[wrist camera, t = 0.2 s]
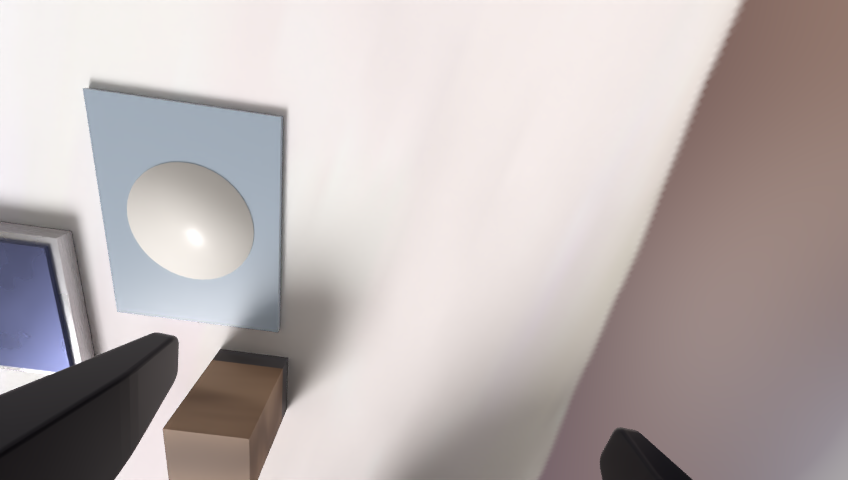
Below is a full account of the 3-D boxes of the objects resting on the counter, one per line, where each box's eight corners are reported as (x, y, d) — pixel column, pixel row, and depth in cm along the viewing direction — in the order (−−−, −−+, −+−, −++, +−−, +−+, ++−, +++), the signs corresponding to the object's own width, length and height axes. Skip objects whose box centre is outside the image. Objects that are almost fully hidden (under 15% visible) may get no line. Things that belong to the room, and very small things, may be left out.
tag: (279, 329, 25) (277, 332, 25) (120, 309, 25) (116, 312, 25) (282, 116, 21) (280, 117, 20) (87, 87, 20) (82, 88, 20)
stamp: (286, 408, 28) (250, 497, 22) (222, 401, 27) (169, 488, 22) (288, 357, 26) (249, 439, 21) (220, 349, 26) (162, 428, 20)
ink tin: (96, 367, 27) (81, 381, 25) (-22, 353, 26) (-43, 366, 25) (71, 231, 23) (52, 240, 22) (-66, 212, 23) (-93, 221, 22)
